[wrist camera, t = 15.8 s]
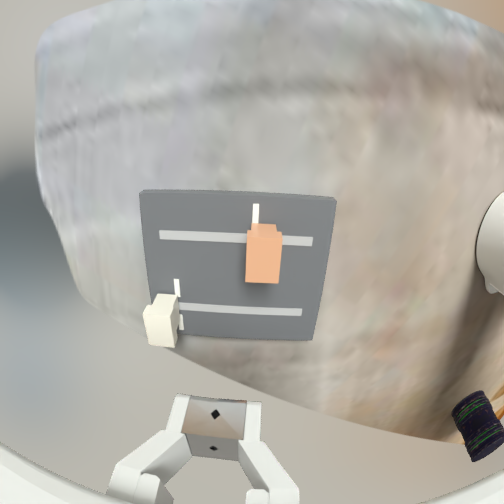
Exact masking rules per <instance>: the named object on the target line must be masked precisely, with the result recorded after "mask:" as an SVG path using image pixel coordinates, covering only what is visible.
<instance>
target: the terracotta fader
mask: <svg viewBox="0 0 504 504" xmlns="http://www.w3.org/2000/svg"><path fill="white" fill-rule="evenodd" d="M282 241H283V238H282V232H277V229H276V224H260V223H251V230H248V231H247V250H246V275H245V282H254V283H277V284H278V282H279V272H280V262H281V252H282Z"/></svg>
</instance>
